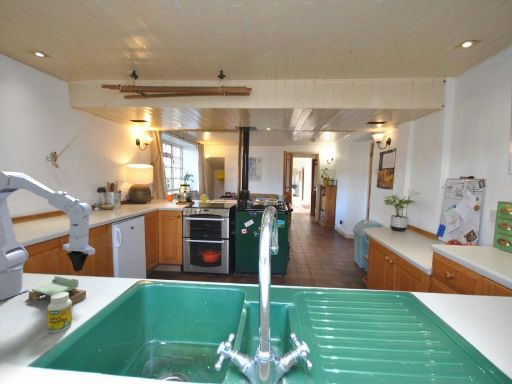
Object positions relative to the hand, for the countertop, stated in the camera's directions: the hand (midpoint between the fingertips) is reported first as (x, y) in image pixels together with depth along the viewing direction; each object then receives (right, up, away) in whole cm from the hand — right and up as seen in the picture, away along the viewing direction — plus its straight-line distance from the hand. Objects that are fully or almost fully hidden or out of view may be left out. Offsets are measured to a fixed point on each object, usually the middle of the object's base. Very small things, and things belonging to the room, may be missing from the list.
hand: (78, 270), depth 88 cm
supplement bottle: (+10, -10, -21) cm, 25 cm away
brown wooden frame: (-3, -8, -5) cm, 10 cm away
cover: (-5, -5, -4) cm, 8 cm away
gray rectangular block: (-3, -8, -5) cm, 10 cm away
